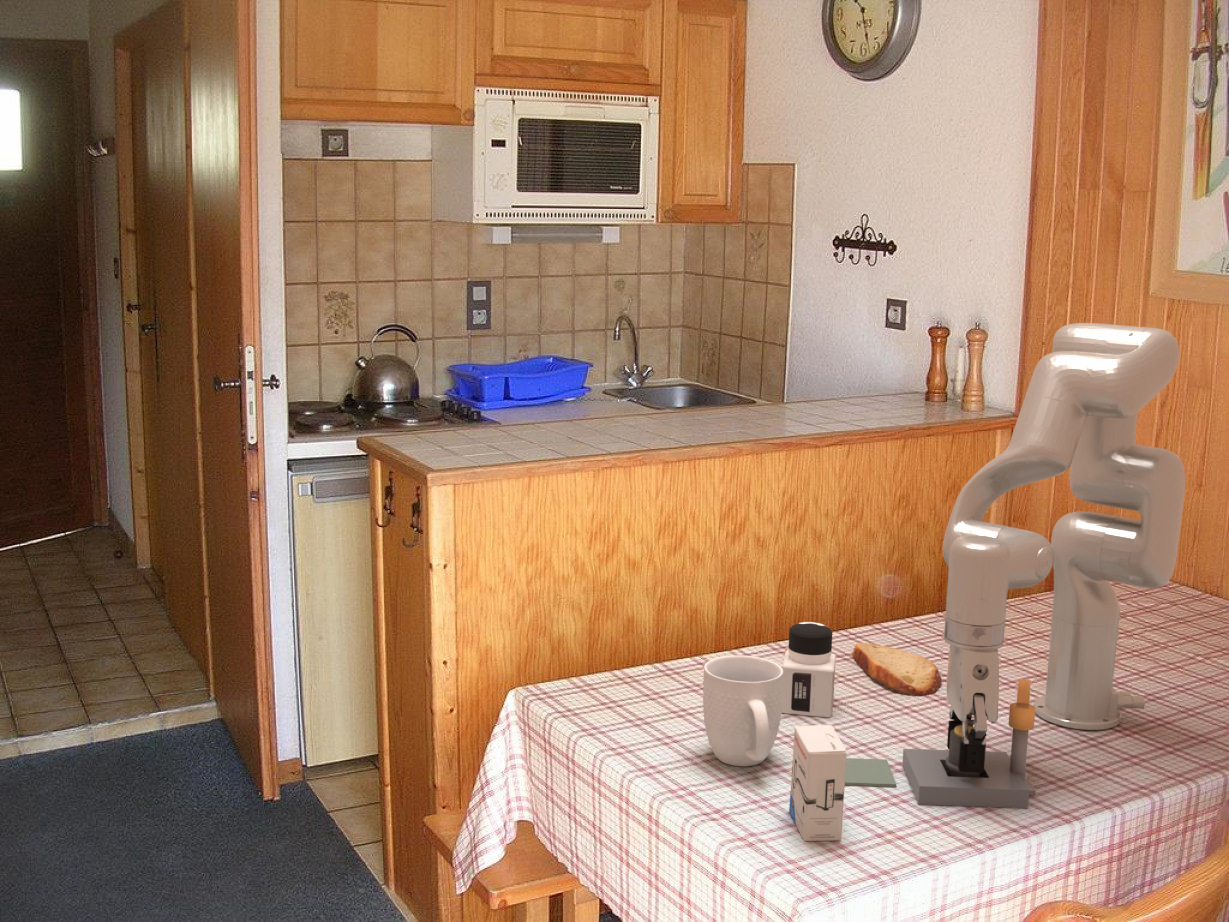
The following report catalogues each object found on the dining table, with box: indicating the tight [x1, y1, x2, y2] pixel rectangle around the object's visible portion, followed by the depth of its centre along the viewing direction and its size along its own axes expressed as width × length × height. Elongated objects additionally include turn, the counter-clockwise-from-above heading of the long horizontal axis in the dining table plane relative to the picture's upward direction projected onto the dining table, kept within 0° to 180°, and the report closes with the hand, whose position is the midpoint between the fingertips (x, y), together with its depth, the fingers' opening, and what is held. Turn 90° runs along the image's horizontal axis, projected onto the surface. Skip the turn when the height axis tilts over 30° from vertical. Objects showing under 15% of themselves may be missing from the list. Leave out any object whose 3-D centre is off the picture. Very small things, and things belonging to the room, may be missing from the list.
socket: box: [902, 728, 1037, 809], centre depth 174 cm, size 16×12×8 cm
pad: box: [845, 757, 897, 788], centre depth 179 cm, size 8×8×1 cm
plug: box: [946, 725, 980, 778], centre depth 175 cm, size 5×5×8 cm
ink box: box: [788, 724, 847, 842], centre depth 162 cm, size 9×5×12 cm, turn 5°
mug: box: [702, 654, 783, 767], centre depth 180 cm, size 15×11×13 cm
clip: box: [1008, 678, 1036, 731], centre depth 177 cm, size 13×3×3 cm, turn 162°
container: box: [781, 621, 837, 718], centre depth 201 cm, size 8×8×13 cm
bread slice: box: [851, 642, 943, 697], centre depth 218 cm, size 18×18×4 cm
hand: (964, 759), depth 175 cm, fingers open, 6 cm apart
